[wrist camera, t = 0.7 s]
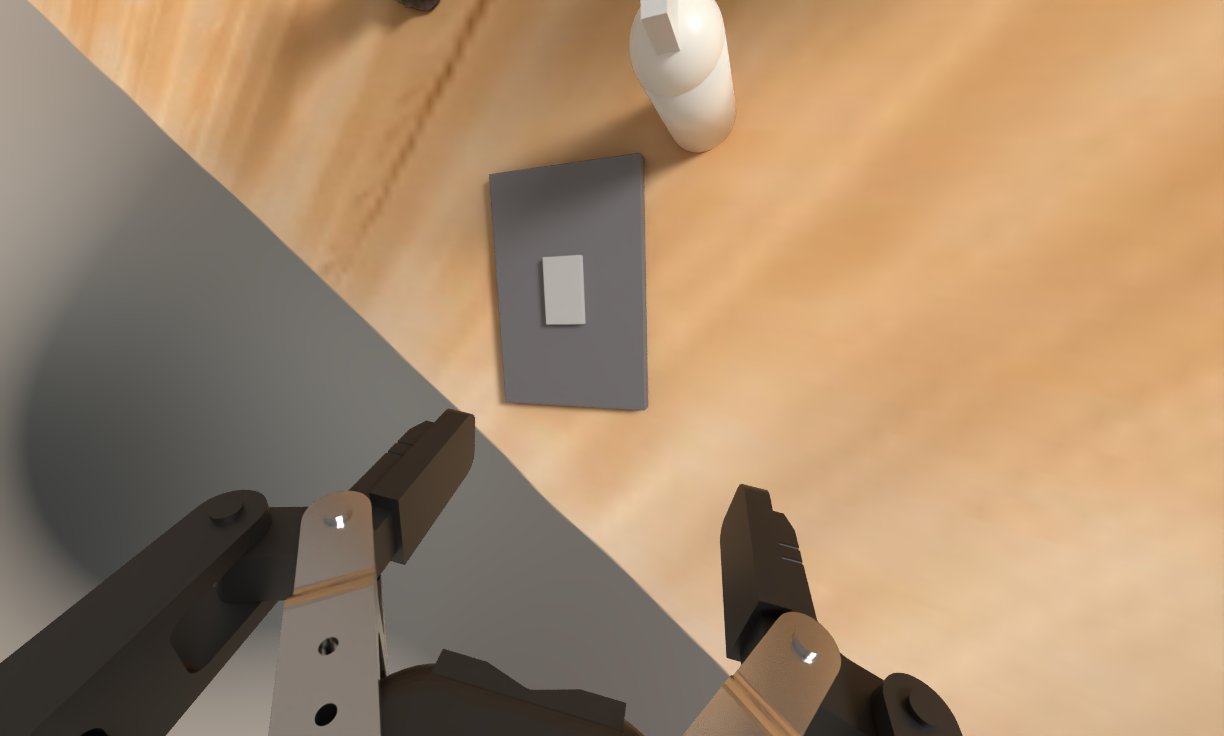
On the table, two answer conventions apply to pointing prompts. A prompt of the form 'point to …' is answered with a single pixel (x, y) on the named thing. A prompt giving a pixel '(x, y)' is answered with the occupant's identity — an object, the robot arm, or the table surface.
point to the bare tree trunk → (419, 4)
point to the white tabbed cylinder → (685, 69)
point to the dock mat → (573, 282)
